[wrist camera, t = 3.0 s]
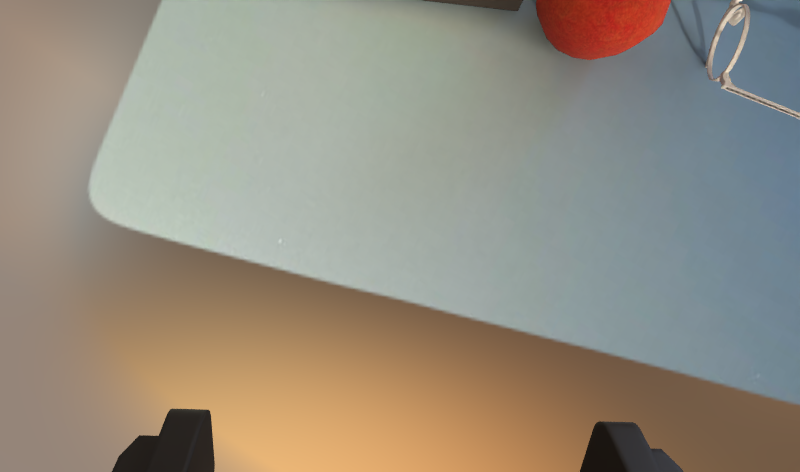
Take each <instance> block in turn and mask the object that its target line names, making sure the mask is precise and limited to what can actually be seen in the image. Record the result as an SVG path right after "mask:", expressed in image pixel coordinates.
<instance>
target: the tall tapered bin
mask: <svg viewBox="0 0 800 472" xmlns="http://www.w3.org/2000/svg"><path fill="white" fill-rule="evenodd" d="M425 1H433V2H442V3H451V4H460V5H468V6H477V7H486V8H495V9H503V10H512V11H518V10H519V8H520V5H521V3H522V1H523V0H425Z"/></svg>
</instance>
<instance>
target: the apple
mask: <svg viewBox="0 0 800 472" xmlns="http://www.w3.org/2000/svg"><path fill="white" fill-rule="evenodd" d="M670 2H671V0H536V9H537V15H538V18H539V20H540V23H541V25H542V28H543V31H544V33H545V35H546V38H547V39H548V40H549V41H550V42H551V43H552V45H553V46H554V47H555V48H556V49H557V50H558V51H561V52H563V53H565V54H567V55H569V56H571V57H574V58H581V59H587V60H592V59H597V58H602V57H608V56H613V55H617V54H619V53H621V52H624V51H626V50H628V49H629V48H631V47H633V46H635V45H636V44H638V43H639V42H641V41H642V40H644V39H645V38H647V37H648V36H650V35H651V34H653V33H654V32H655V31H656V30H657V29H658V28H659V27H660V26H661V25H662V23H663V20H664V18H665V15H666V13H667V10H668V7H669V5H670Z"/></svg>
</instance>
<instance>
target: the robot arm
mask: <svg viewBox="0 0 800 472" xmlns="http://www.w3.org/2000/svg"><path fill="white" fill-rule="evenodd" d="M112 472H214V450H213V438H212V425H211V414H210V411H209V410H195V409H171V410H170V411H169V412H168V414H167V416H166V419H165V421H164V424H163V427H162V429H161V432H160V434H159V436H138V438H136V439H135V441H134V442H133V443H132V444H131V445H130V446H129V447H128V448H127V449H126V450H125V451H124V452H123V453H122V454H121V455H120V456H119V457H118V460H117V462H116V464H115V466H114V468H113V471H112ZM580 472H683V470H682V469H681V468H680V467H679V466H678V465H677V464H676V463H675V462H674V461H673V460H672V459H671V458H670V457H669V456H668V455H667V454H666V453H665V452H663V450H662V449H650V447H649V445H648V443H647V441H646V440H645V438H644V436H643V434H642V432H641V430H640V428H639V427H638V426H637V425H636V424H635V423H633V422H597V423H596V424H595V426H594V429H593V432H592V435H591V438H590V441H589V445H588V447H587V451H586V454H585V457H584V460H583V463H582V467H581V470H580Z"/></svg>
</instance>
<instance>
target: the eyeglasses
mask: <svg viewBox="0 0 800 472" xmlns="http://www.w3.org/2000/svg"><path fill="white" fill-rule="evenodd" d="M739 1H743V0H732V1H731V2H730V6H729V8H728V10H727V11H726V13H725V14H724V16H723V18H722V20H721V21H720V23H719V25H718V27H717V30H716V32H715V35H714V37H713V40H712V43H711V46H710V49H709V54H708V59H707V61H706V64H705V68H707V74H708V77H709V79H710V80H712V81H720V82H721V83H722V86H721V88H722V89H725V90H727V91H730V92H732V93H735V94H737V95H740V96H743V97H745V98H748V99H750V100H753V101H755V102H758V103H760V104H763V105H765V106H768V107H771V108H773V109H776V110H778V111H781V112H783V113H786V114H788V115H791V116H793V117H796V118H799V119H800V113H798V112H796V111H793V110H791V109H788V108H786V107H783V106H781V105H779V104H776V103H774V102H771V101H769V100H766V99H764V98H761V97H759V96H756V95H754V94H751V93H749V92H746V91H744V90H741V89H739V88H736V86H735V85H733V83H731V82H730V81H731V79H730V77H729V72H730V70H731V69H732V67H733V66H734V64H735V62H736V60H737V59H738V57H739V55H740V52H741V50H742V48H743V45H744V42H745V39H746V36H747V33H748V28H749V23H750V10H749V7H748V5H746V4H742V3H739ZM741 6H743V8H741V9H739V10H737V9H738V8H739V7H741ZM736 10H737V11H736ZM735 11H736V12H735ZM744 16H745V22H744V28H743V32H742V36H741V39H740V42H739V45H738V47H737V50H736V52H735V54H734V56H733V58H732V60H731V62H730V63H729V65H728V66H727V68H726V69H725V71H723V72H722V73H721V74H720V76H719V77H718V78H716V79H714V78H713V75H712V60H713V55H714V51H715V48H716V45H717V42H718V39H719V37H720V34H721V32H722V30H723V28H724V26H725V24H726V23H727V21H728V22H729V23H730V24H731V25H732V26H735V25H736V24H737V23H738V22H739V21H740V20H741V19H742V18H743V17H744Z"/></svg>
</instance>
